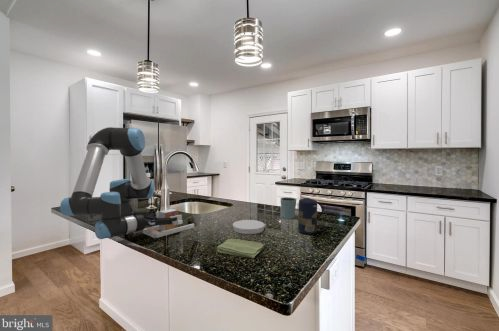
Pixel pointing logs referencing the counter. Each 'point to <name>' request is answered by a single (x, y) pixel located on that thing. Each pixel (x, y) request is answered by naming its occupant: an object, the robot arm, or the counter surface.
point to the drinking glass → (288, 208)
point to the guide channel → (167, 232)
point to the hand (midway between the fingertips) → (174, 214)
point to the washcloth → (240, 248)
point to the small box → (168, 214)
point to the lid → (248, 226)
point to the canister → (307, 216)
